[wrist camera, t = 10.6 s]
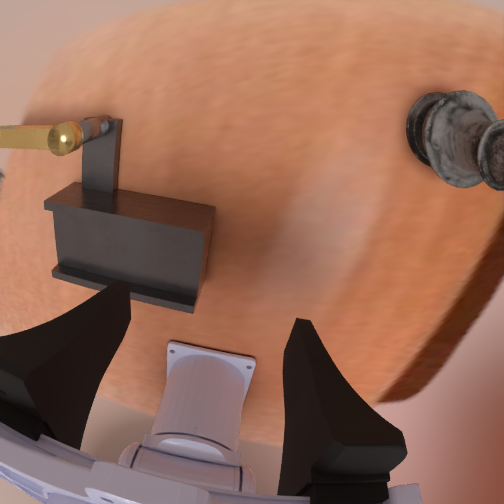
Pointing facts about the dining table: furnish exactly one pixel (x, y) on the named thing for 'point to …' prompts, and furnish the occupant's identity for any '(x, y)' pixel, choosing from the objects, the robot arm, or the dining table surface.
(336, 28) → the dining table surface
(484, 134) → the grey tall flared piece
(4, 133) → the lever
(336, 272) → the dining table surface
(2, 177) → the knobbed drawer block
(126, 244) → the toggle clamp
